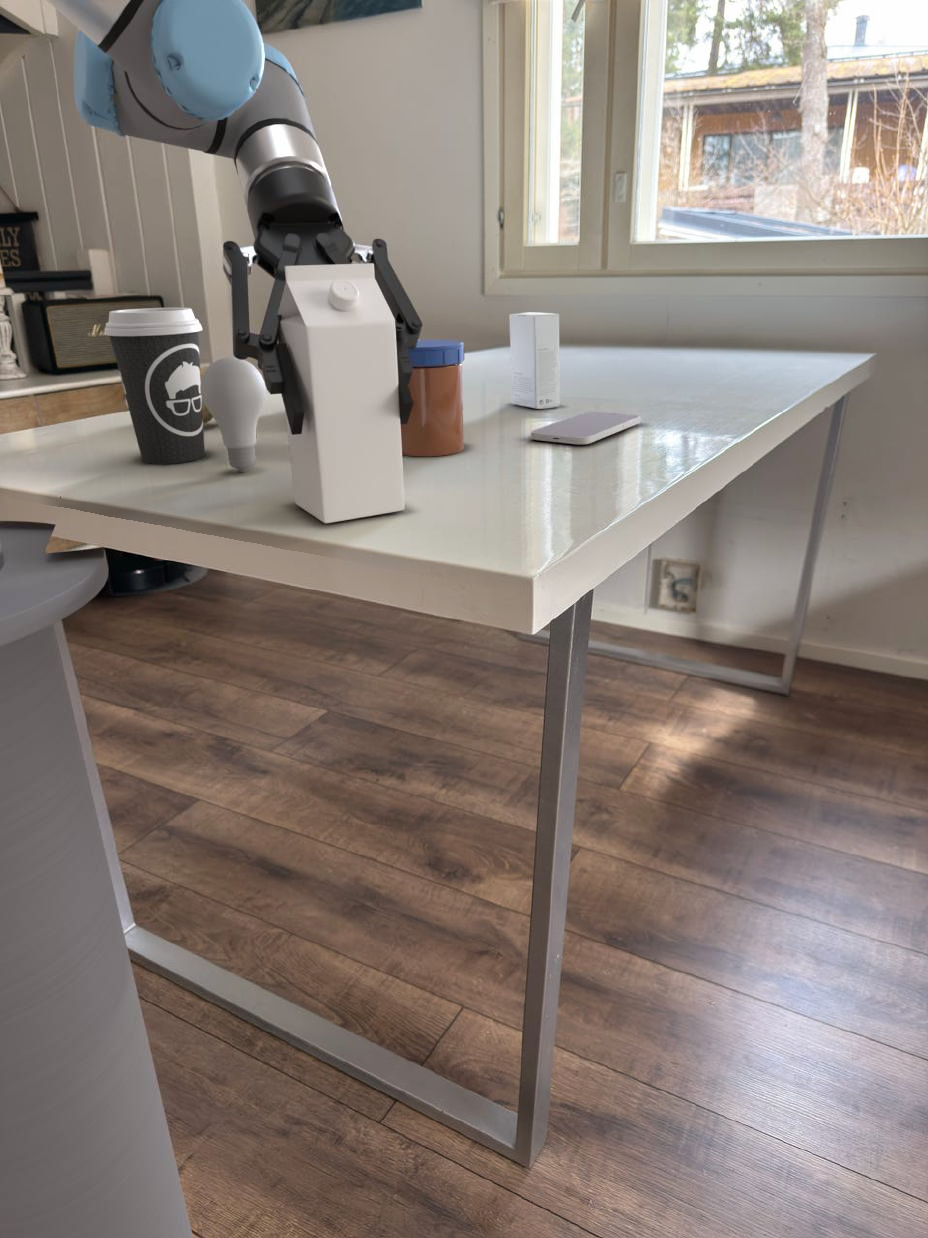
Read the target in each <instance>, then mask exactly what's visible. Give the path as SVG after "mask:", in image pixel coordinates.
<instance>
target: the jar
mask: <svg viewBox="0 0 928 1238" xmlns="http://www.w3.org/2000/svg"><path fill="white" fill-rule="evenodd" d="M408 387H409V390H410V393H411V396H412V399H413V402H414V404H413V407H412V410H411V413H410V416H409V420H408V423H407V424H402V425H401V445H402V456H406V457H407V456H408V457H420V458H421V457H422V458H423V457H424V458H426V457H428V458H429V457H441V456H448V455H454V454H457V453H460V452H462V451H463V450H464V449H465V441H464V439H465V438H464V437H465V436H464V399H463V397H464V395H463V394H464V393H463V391H464V390H463V362H461V363H457V364H451V365H441V366H413V372H412V376H411V379H410V382H409V384H408Z"/></svg>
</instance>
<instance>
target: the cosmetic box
mask: <svg viewBox="0 0 928 1238" xmlns="http://www.w3.org/2000/svg"><path fill="white" fill-rule="evenodd" d="M508 319H509V345H510V346H509V347H510V368H511V369H510V372H511V373H510V375H511V402H512V405H515V406H521V407H525V408H530V409H536V410H544V409H552V408H559V407H560V404H561V390H560V389H561V382H560V380H561V379H560V378H561V377H560V374H561V373H560V368H561V367H560V313H553V312H538V311H537V312H536V311H535V312H533V311H528V312H520V313H519V312H518V313H510V314H509V318H508Z"/></svg>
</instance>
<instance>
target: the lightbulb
mask: <svg viewBox="0 0 928 1238" xmlns="http://www.w3.org/2000/svg"><path fill="white" fill-rule="evenodd" d="M206 368H207V369H206V371H205V372H204V374H203V376H202V379H201V385H200V391H201V396H202V399H203V402H204V404H205V406H206V407H207V409H208V410H209V412H210V413H211V415H212V416H213V419H214V420H215V422H216V424H217V426H218V429H219V430H220V434H221V438H222V443H223V445H224V446H225V448H226V452H227V457H228V463H229V466H230V467H231V468H233V469H236V470H237V471H238V472H239V473H246V472H248V471H249V470H250V468H252V467H254V466H255V464H256V449H255V445H256V443H257V425H258V421H259V417H260V414H261V412H262V410H263V407H264V404H265V401H266V396H267V388H266V384H265V380H264V376H263V374H261V372H260V371H259V370H258V368H257V367H256V366H255V365H254V364H253V363H251V362H249V361H248V360H246V359H244V360H240V359H237V358H235V356H227V357H223V358H219V359H217V360H215V361H214V362H212V363H211V364H210V365H208V366H207V367H206Z"/></svg>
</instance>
